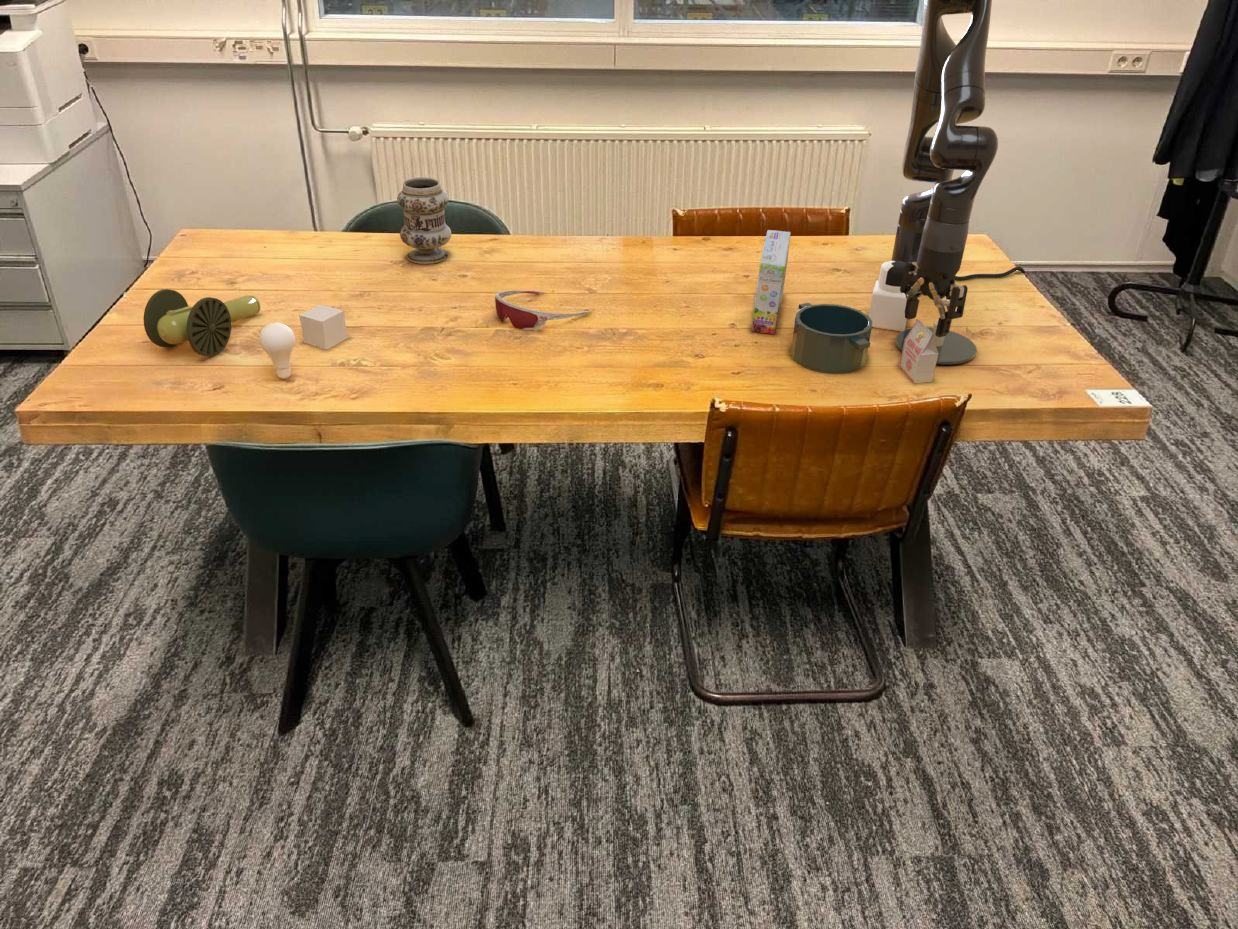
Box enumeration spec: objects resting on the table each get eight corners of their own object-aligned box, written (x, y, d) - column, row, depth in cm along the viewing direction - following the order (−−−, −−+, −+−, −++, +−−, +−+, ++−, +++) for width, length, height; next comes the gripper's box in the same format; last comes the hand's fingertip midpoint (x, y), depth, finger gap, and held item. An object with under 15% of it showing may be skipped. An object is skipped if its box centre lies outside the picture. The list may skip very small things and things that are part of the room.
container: (907, 317, 203) (918, 260, 196) (904, 332, 197) (916, 273, 189) (870, 312, 205) (880, 255, 198) (866, 326, 199) (876, 268, 192)
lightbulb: (271, 370, 178) (260, 317, 172) (305, 370, 179) (294, 316, 172) (264, 386, 173) (252, 331, 167) (298, 385, 173) (287, 331, 167)
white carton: (916, 365, 184) (926, 318, 179) (932, 381, 179) (942, 333, 173) (899, 366, 184) (908, 319, 178) (913, 383, 178) (924, 335, 173)
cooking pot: (828, 329, 197) (833, 294, 193) (889, 371, 182) (897, 333, 178) (769, 342, 192) (773, 305, 188) (827, 385, 177) (833, 347, 173)
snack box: (777, 335, 194) (786, 266, 186) (750, 332, 195) (757, 263, 187) (783, 295, 212) (791, 229, 203) (758, 292, 213) (765, 227, 204)
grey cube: (326, 349, 186) (321, 321, 182) (304, 342, 188) (298, 315, 185) (348, 338, 190) (343, 310, 187) (325, 331, 193) (320, 304, 189)
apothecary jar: (448, 266, 222) (442, 190, 212) (397, 265, 222) (388, 189, 212) (456, 248, 232) (451, 175, 223) (408, 247, 232) (400, 173, 223)
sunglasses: (477, 313, 200) (479, 290, 198) (535, 303, 212) (537, 282, 210) (532, 339, 191) (535, 315, 188) (590, 327, 203) (593, 304, 200)
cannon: (232, 308, 201) (221, 257, 195) (279, 317, 198) (269, 266, 191) (145, 358, 181) (129, 303, 175) (195, 369, 178) (181, 314, 172)
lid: (939, 327, 199) (944, 302, 196) (992, 358, 187) (999, 332, 184) (879, 340, 194) (884, 314, 190) (930, 373, 182) (936, 346, 179)
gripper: (988, 253, 163) (967, 338, 172) (932, 227, 174) (915, 309, 182) (954, 259, 160) (935, 346, 169) (900, 232, 171) (884, 315, 180)
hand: (925, 326), depth 176 cm, fingers open, 8 cm apart
